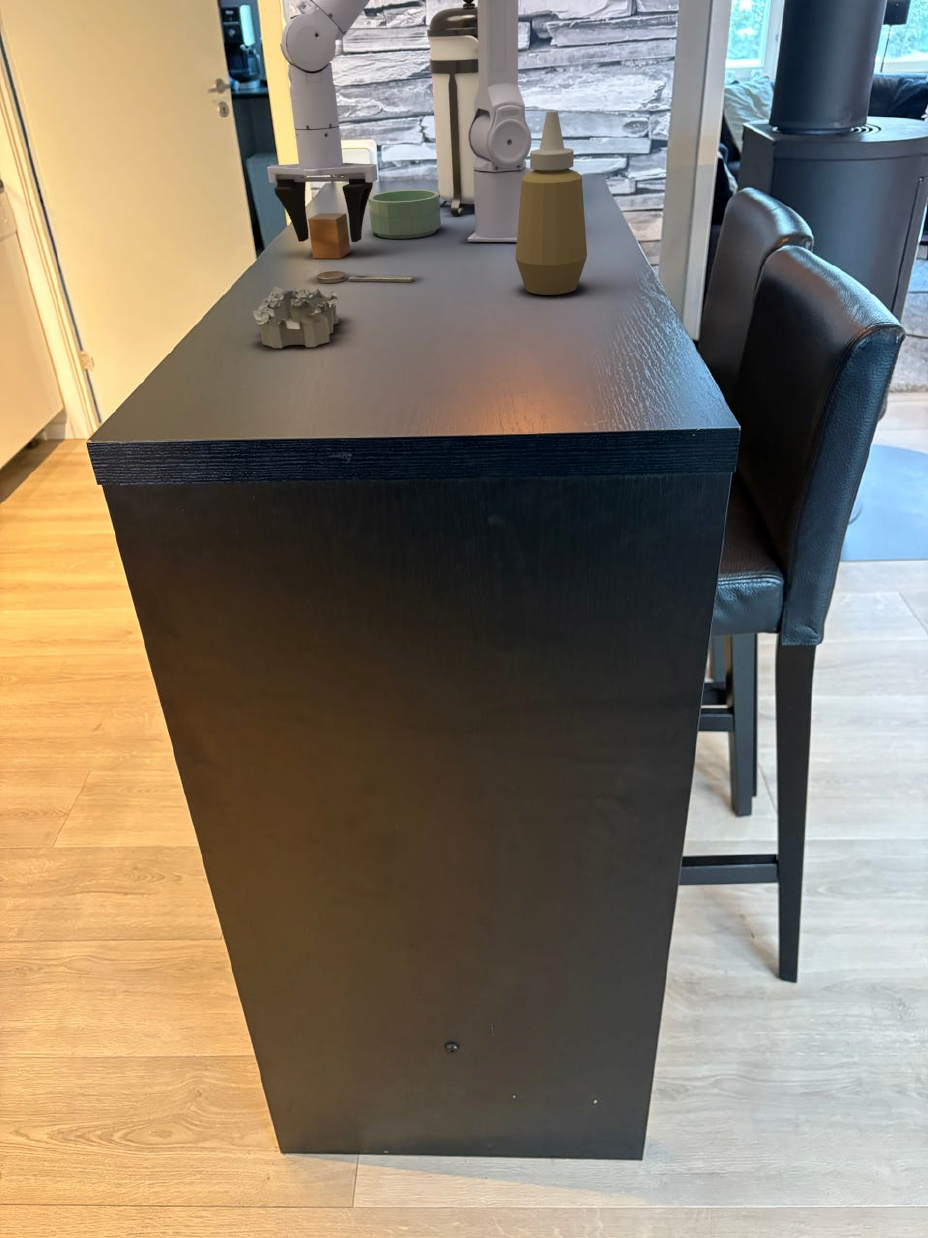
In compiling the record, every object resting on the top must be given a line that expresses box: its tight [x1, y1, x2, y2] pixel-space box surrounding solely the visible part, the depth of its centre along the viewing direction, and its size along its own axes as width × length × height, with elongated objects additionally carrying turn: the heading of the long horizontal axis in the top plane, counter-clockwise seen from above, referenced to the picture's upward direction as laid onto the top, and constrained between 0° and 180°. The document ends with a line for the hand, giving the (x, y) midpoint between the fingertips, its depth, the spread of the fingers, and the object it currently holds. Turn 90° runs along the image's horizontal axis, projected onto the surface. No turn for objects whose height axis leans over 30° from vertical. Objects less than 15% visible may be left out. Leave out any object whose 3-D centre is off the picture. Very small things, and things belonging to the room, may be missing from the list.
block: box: [307, 212, 352, 260], centre depth 126 cm, size 4×4×5 cm
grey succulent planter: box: [252, 286, 339, 349], centre depth 95 cm, size 11×8×4 cm
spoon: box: [316, 270, 415, 284], centre depth 114 cm, size 12×4×1 cm, turn 76°
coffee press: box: [426, 0, 479, 217], centre depth 144 cm, size 17×16×30 cm
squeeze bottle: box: [515, 110, 588, 296], centre depth 102 cm, size 8×8×18 cm
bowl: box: [368, 189, 442, 240], centre depth 136 cm, size 10×10×5 cm
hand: (329, 240), depth 126 cm, fingers open, 7 cm apart
